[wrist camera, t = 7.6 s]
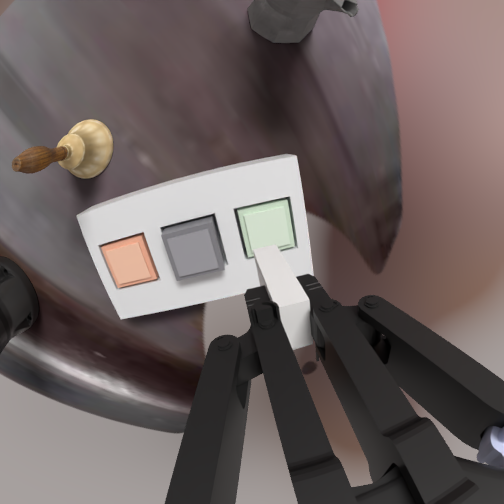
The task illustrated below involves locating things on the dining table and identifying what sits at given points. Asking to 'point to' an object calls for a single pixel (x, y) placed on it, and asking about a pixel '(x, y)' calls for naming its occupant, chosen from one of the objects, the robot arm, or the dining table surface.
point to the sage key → (266, 225)
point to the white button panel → (190, 208)
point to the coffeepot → (292, 17)
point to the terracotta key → (130, 260)
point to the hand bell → (72, 152)
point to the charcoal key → (193, 248)
